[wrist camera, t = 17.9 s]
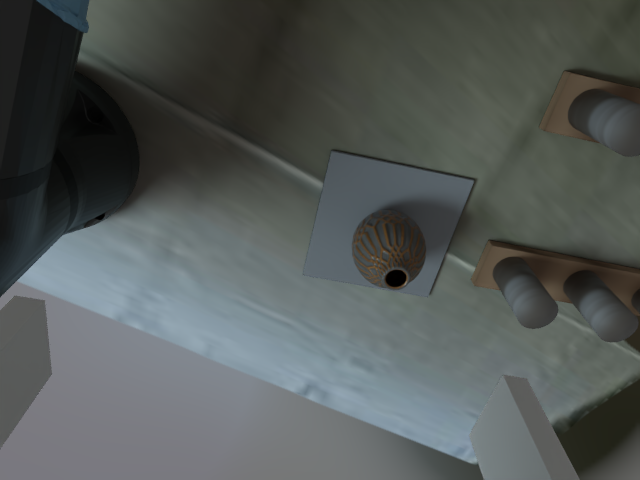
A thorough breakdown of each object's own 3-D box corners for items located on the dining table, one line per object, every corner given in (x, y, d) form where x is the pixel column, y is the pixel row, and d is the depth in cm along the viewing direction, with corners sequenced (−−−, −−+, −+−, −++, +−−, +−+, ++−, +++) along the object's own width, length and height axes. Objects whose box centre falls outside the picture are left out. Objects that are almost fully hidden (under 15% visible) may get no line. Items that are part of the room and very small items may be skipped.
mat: (302, 273, 50) (302, 275, 49) (331, 149, 43) (331, 151, 43) (426, 295, 51) (427, 297, 51) (473, 179, 44) (474, 180, 44)
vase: (399, 187, 44) (415, 229, 37) (429, 240, 47) (450, 290, 39) (337, 220, 46) (340, 267, 38) (369, 270, 49) (378, 323, 41)
